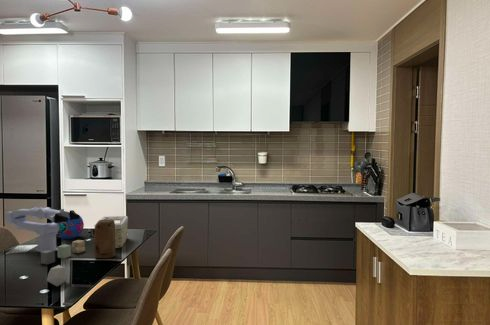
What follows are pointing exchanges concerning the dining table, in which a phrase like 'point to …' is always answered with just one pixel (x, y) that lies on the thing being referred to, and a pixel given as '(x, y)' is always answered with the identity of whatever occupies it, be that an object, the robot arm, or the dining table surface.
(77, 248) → the beech block
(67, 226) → the ceramic pot
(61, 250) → the sage block
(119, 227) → the storage basket
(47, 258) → the charcoal block
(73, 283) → the dining table surface
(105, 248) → the brown rough elongated lump
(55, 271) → the die
